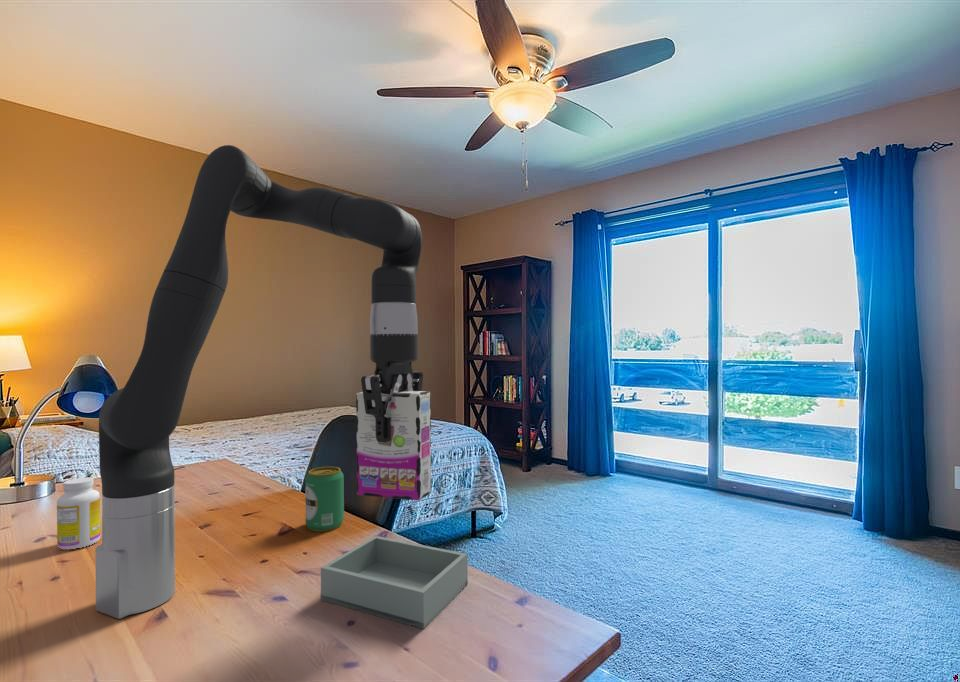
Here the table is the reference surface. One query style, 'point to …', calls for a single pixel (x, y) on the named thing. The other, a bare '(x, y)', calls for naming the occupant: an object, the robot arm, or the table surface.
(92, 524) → the supplement bottle
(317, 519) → the beverage can
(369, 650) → the table surface
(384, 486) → the candy bar box
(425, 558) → the bin
